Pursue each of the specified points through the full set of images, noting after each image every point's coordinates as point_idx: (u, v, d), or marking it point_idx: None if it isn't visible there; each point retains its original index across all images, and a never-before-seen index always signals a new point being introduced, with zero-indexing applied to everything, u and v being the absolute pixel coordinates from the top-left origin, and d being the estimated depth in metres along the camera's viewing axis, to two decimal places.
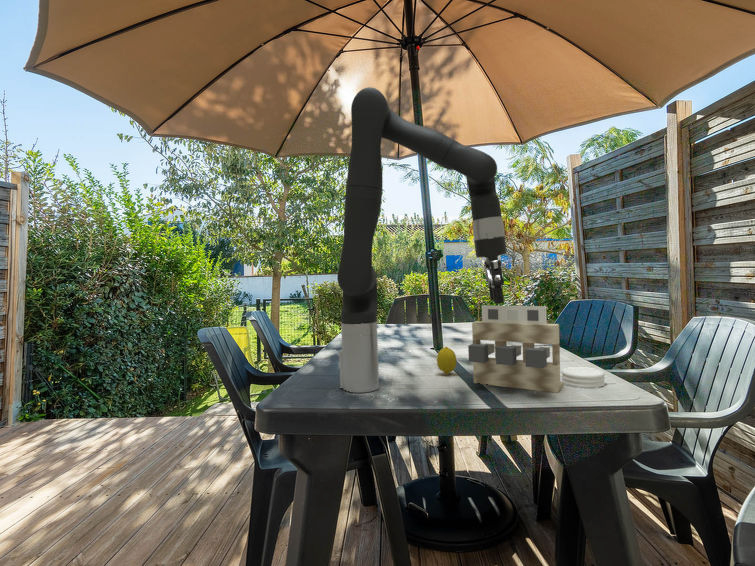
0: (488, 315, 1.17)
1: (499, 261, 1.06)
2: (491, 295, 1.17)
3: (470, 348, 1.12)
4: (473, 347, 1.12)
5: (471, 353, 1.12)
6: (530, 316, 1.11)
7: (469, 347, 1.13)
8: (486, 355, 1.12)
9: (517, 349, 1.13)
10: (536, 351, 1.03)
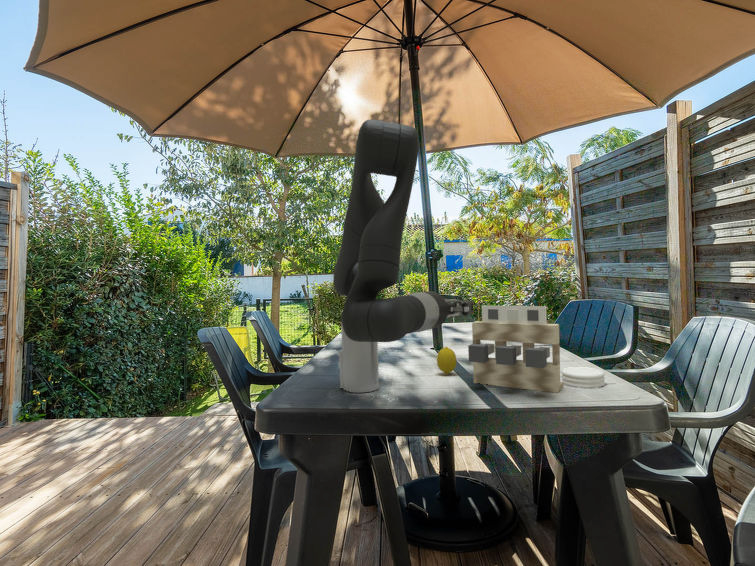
0: (488, 315, 1.17)
1: None
2: None
3: (470, 348, 1.12)
4: (473, 347, 1.12)
5: (471, 353, 1.12)
6: (530, 316, 1.11)
7: (469, 347, 1.13)
8: (486, 355, 1.12)
9: (517, 349, 1.13)
10: (536, 351, 1.03)
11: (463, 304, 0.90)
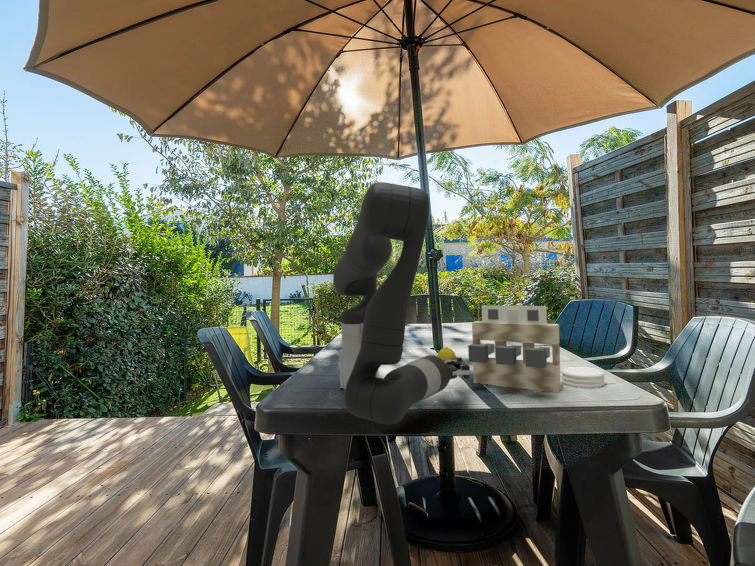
0: (488, 315, 1.17)
1: None
2: None
3: (470, 348, 1.12)
4: (473, 347, 1.12)
5: (471, 353, 1.12)
6: (530, 316, 1.11)
7: (469, 347, 1.13)
8: (486, 355, 1.12)
9: (517, 349, 1.13)
10: (536, 351, 1.03)
11: (466, 367, 0.92)
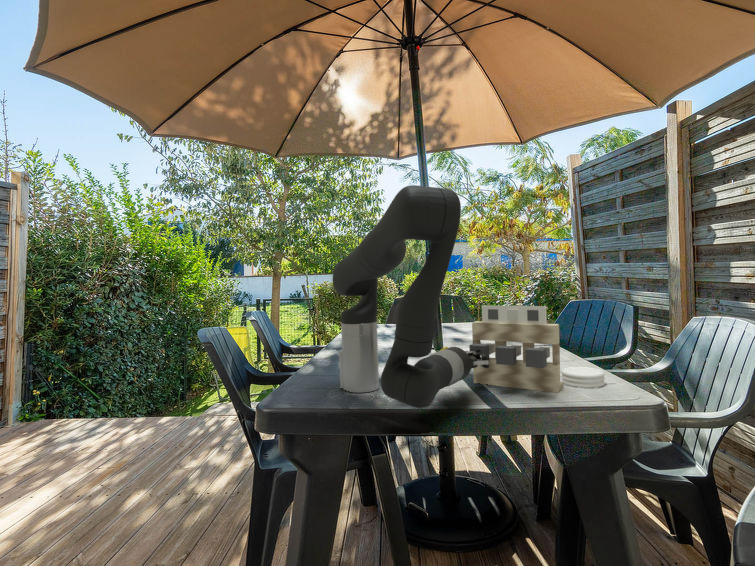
0: (488, 315, 1.17)
1: None
2: None
3: (471, 348, 1.13)
4: (474, 347, 1.13)
5: None
6: (530, 316, 1.11)
7: (470, 347, 1.13)
8: (487, 355, 1.13)
9: (517, 349, 1.13)
10: (536, 351, 1.03)
11: (486, 358, 1.01)
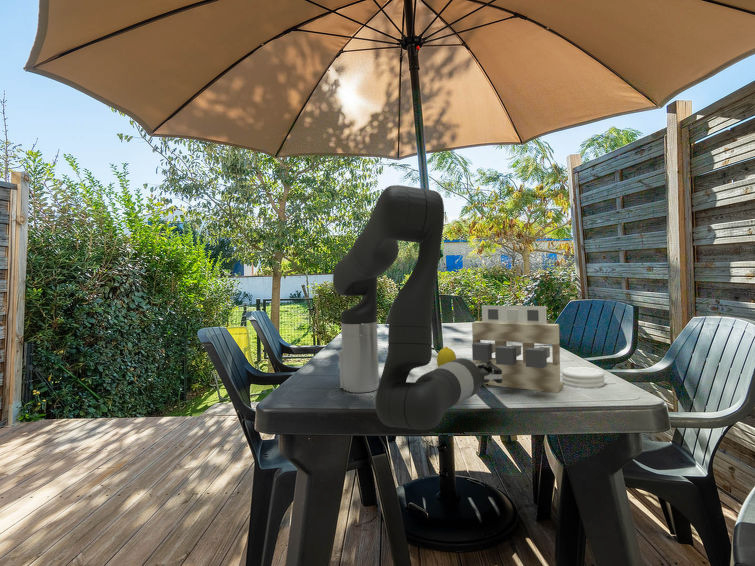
0: (488, 315, 1.17)
1: None
2: None
3: (474, 346, 1.14)
4: (477, 345, 1.14)
5: (475, 351, 1.14)
6: (530, 316, 1.11)
7: (473, 345, 1.15)
8: (490, 353, 1.14)
9: (517, 349, 1.13)
10: (536, 351, 1.03)
11: (498, 371, 0.88)
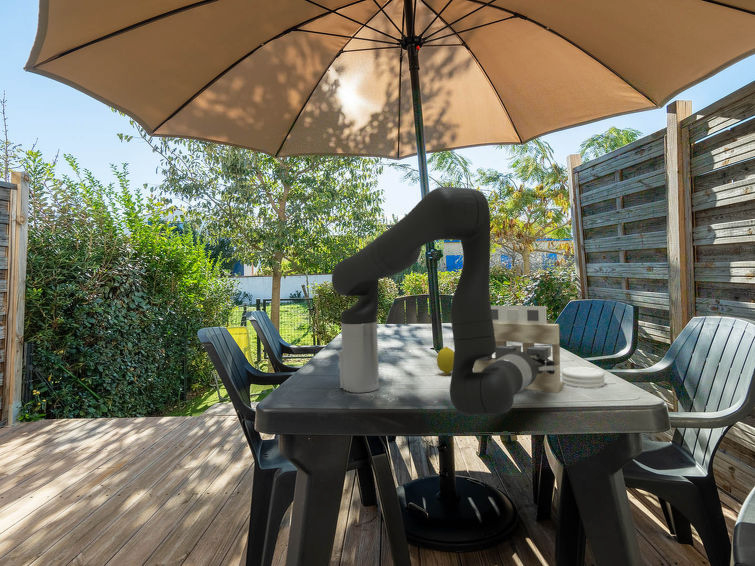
0: None
1: None
2: None
3: None
4: None
5: None
6: (530, 316, 1.11)
7: None
8: None
9: (517, 349, 1.13)
10: (537, 350, 1.04)
11: (551, 363, 0.94)
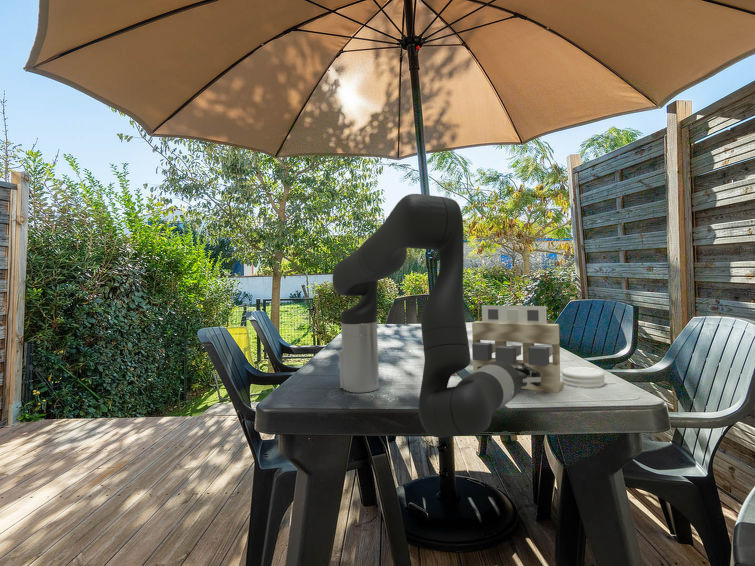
0: (488, 315, 1.17)
1: None
2: None
3: (474, 346, 1.14)
4: (477, 345, 1.14)
5: (475, 351, 1.14)
6: (530, 316, 1.11)
7: (473, 345, 1.15)
8: (490, 353, 1.14)
9: (517, 349, 1.13)
10: (539, 349, 1.06)
11: (537, 374, 0.84)
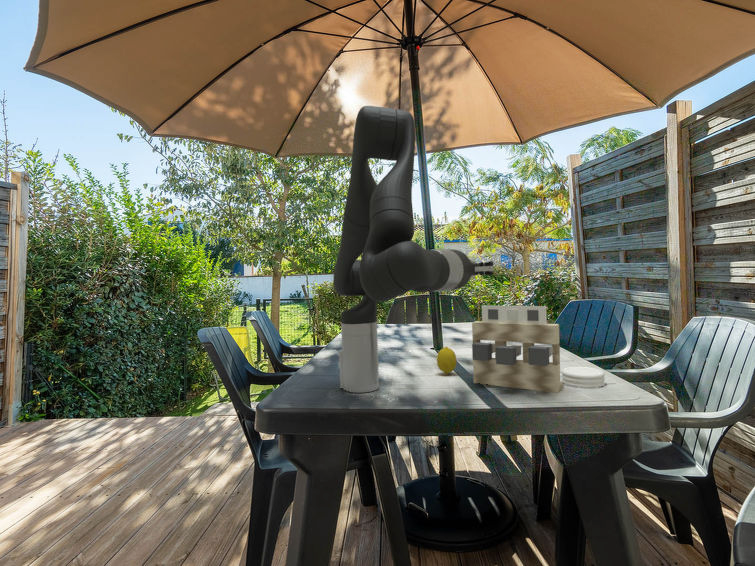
0: (488, 315, 1.17)
1: None
2: None
3: (474, 346, 1.14)
4: (477, 345, 1.14)
5: (475, 351, 1.14)
6: (530, 316, 1.11)
7: (473, 345, 1.15)
8: (490, 353, 1.14)
9: (517, 349, 1.13)
10: (539, 349, 1.06)
11: (489, 263, 0.84)
